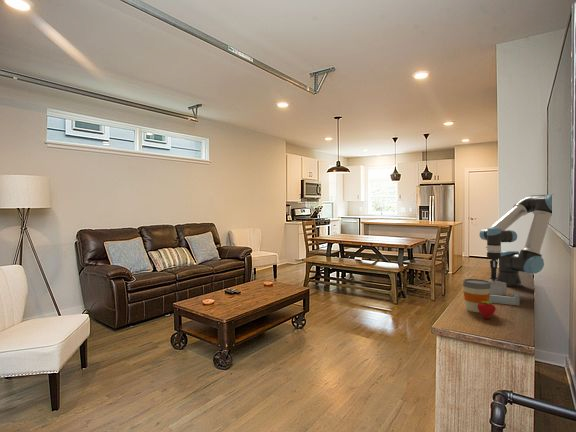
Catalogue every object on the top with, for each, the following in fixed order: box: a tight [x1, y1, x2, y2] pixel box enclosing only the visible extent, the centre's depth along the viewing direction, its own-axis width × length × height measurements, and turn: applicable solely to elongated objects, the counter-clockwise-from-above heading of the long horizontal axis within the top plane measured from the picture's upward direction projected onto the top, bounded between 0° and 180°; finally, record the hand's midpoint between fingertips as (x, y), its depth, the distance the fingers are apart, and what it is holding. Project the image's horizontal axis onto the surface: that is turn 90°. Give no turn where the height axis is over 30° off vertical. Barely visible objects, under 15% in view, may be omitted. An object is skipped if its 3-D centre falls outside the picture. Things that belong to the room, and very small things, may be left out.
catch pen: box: [489, 291, 520, 306], centre depth 192 cm, size 15×21×5 cm
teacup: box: [488, 280, 507, 296], centre depth 203 cm, size 14×11×8 cm
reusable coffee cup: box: [462, 278, 491, 313], centre depth 173 cm, size 12×13×15 cm
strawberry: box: [477, 298, 496, 320], centre depth 159 cm, size 6×8×10 cm
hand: (493, 289), depth 211 cm, fingers closed
